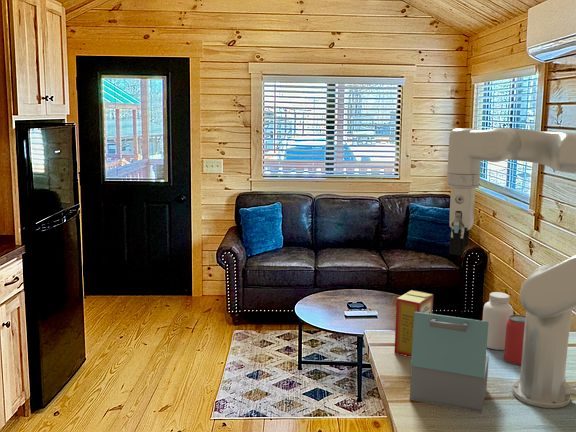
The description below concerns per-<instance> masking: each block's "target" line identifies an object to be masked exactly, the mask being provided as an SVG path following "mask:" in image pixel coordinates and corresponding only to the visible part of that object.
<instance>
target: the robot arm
mask: <svg viewBox="0 0 576 432" xmlns="http://www.w3.org/2000/svg"><path fill="white" fill-rule="evenodd" d="M447 152H448V155H447V174H446V187H448V188H450V189H451V190H450V201H449V227H450V228H451V232H450V238H449V248H448V249H449V252H448V254H450V255H454V256H463V255H464V253H465V252H464V251H465V250H464V249H465V247H468V245H469V238H470V237H469V236H470V235H469V233H470V230H471V229H472V227H473V226H474V224H475V203H476V201H475V200H476V189H479V187H480V178H481V164H482V161H485V162H488V163H489V162H491V163H498V162H503V161H506V160H510V161H519V162H525V163H526V162H528V163H534V164H537V165H543V166H545V167H548V168H550V169H552V170H554V171H556V172H560V173H566V174H567V173H568V174H575V175H576V133H573V132H564V131H563V132H561V131H558V132H557V131H556V132H555V131H554V132H552V131H541V130H534V129H532V130H531V129H525V128H523V129H521V128H513V127H499V128H492V129H491V128H490V129H483V130H480V129H478V128H469V127H467V128H465V127H464V128H461V127H459V128H457V127H456V128H454V129H451V131H449V137H448V151H447ZM518 296H519V300H520V304H521V307H522V308H523V309H524V310H525V316H526V317H525V328H524V338H523V350H522V362H521V365H520V376H519V380H518V381H515V383H513V384H512V387H511V388H512V390H511V391H512V394H513V395H514V396H515V397H516V398H517V399H518V400H520V401H522V402H523V403H526V404H527V405H531V406H534V407H539V408H543V409H544V408H545V409H560V408H563V407H567V406H568V405H569V404H570V402H571V397H576V384H571V383H569V382H567V379H566V368H567V359H568V350H569V347H568V346H569V339H570V330H571V319H572V314H573V313H572V312H573V309H575V308H576V252H574V254H573V255H572V256H571V257H568V258H567V259H565V260H563V261H561V262H559V263H557V264H556V263H547V264H543V265H541V266H538V267H537V268H536V269H534V270H533V271H532V272H531V274H530V275H529V276H528V277H527V278H526V279H525V280H524V281H523V282H522V284H521V287H520V289H519V295H518Z"/></svg>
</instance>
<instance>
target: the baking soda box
mask: <svg viewBox="0 0 576 432" xmlns="http://www.w3.org/2000/svg"><path fill="white" fill-rule="evenodd" d="M433 306H434V294H433V293H428V292H424V291H418V290H413V289H411V290H409V291H407V292H406V293H404V294H402V295H400V296H398V297H397V298H396V309H395V331H394V333H395V334H394V354H397V353H398V355H400V354H402V355H401V356H404V355H406V356H405V357H408V356H410V357H409V358H411V356H412V341H413V326H414V312H421V313H429V314H433V311H434V310H433V308H434V307H433Z"/></svg>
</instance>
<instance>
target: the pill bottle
mask: <svg viewBox="0 0 576 432" xmlns="http://www.w3.org/2000/svg"><path fill="white" fill-rule="evenodd" d="M511 315H514V307H513V306H512V305H511V304H510V295H509V294H507V293H504V292H500V291H494V292H493V291H492V292H490V293H489V299H488V301H487V302H485V303H484V305H483V311H482V321H488V322H489V324H488V337H487V348H488V349H491V350H496V351H497V350H498V351H503V350H504V349H505V336H506V324H507V321H508V319H509V316H511Z"/></svg>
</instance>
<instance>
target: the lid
mask: <svg viewBox="0 0 576 432" xmlns="http://www.w3.org/2000/svg"><path fill="white" fill-rule="evenodd" d="M488 324H489V322H488V321H483V320H480V319H473V318H464V317H459V316H457V317H456V316H451V315H443V314H437V313H432V314H429V313H421V312H414V326H413V341H412V356H411V357H410V359H411V360H410V366H416V367H422V368H428V369H434V370H440V371H446V372H452V373H458V374H464V375H470V376H475V377H481V378H484V375H485V362H486V356H487V350H488V349H487V337H488Z"/></svg>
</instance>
